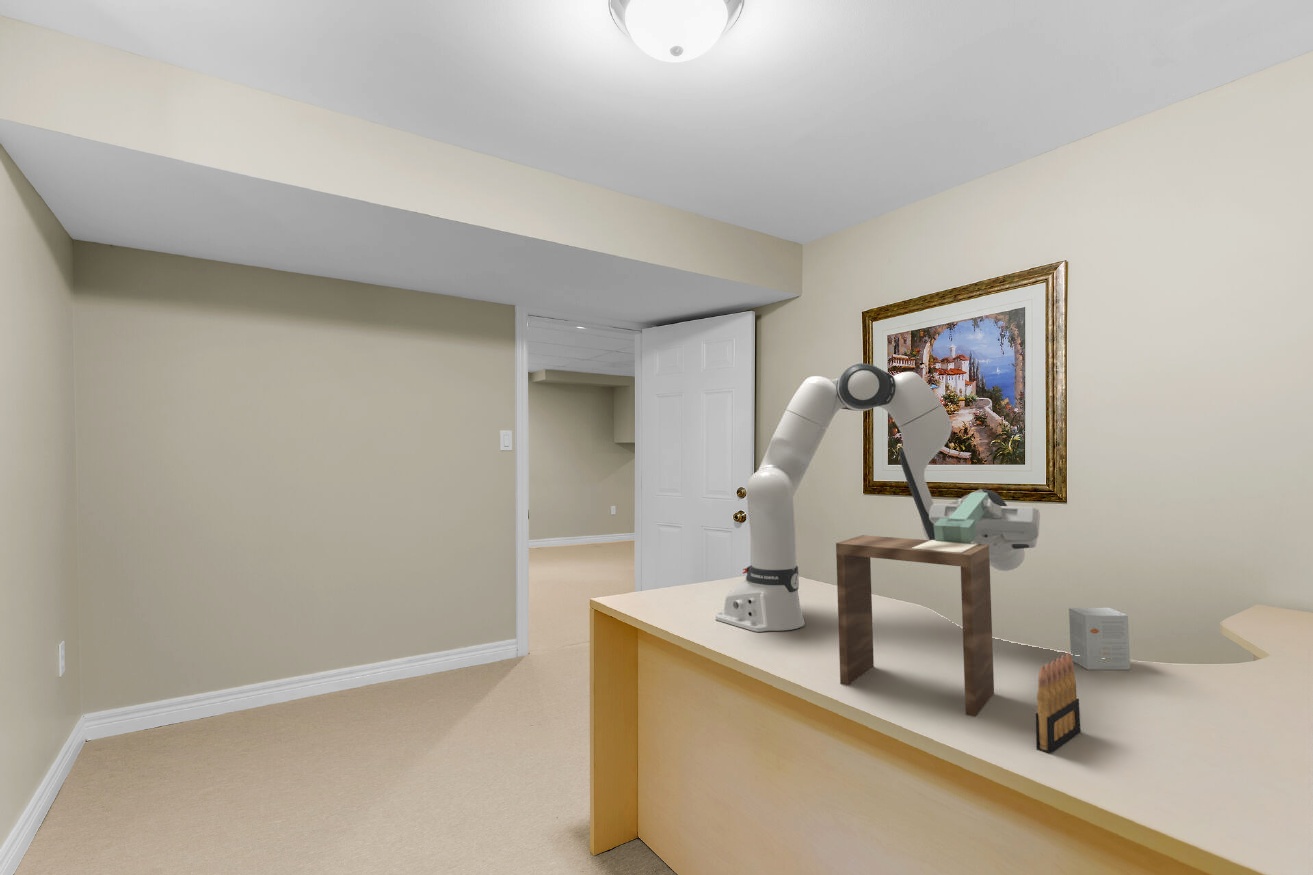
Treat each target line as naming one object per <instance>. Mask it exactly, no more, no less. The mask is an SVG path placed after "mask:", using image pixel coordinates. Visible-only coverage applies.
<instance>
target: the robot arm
mask: <svg viewBox="0 0 1313 875" xmlns="http://www.w3.org/2000/svg"><path fill="white" fill-rule="evenodd" d="M936 394H937V393H935V392H934V390H933V389H932V388H931V387H930V385H929V384H928V383H927V381H926V380H924V378H923V377H921V375H919V374H918V373H916V372H914V371H903V372H899V373H896V374H895V375H892V374H890V373H888V372H887V371H885V370H883V369H881V368H879V367H877V366H876V365H873V364H870V363H856V364H853V365H851V366H849V367H847V369H846V370H844V371H843V373H842V374H841V375H840V376H839V377H838V378H835V379H828V378H827V377H824V376H820V375H813V376H809V377H808V378H806V379H805V380H804V381H803V382H802V383H801V384H800V386H799V387H798V389H797V390H796V392H795V393H794V395H793V396H792V398H791V399H790V401H789V403H788V405H787V407H786V410H785V411H784V413H783V415H782V417H781V419H780V421H779V423H778V425H777V427H776V430H775V431H774V433H773V435H772V437H771V440H770V443H769V445H768V447H767V448H766V452H765V454H764V457H763V459H762V461H761V463H760V465H759V468H758V470H757V471H756V472H754V473H753V474H752V475H751V476H750V478H749V479H748V482H747V483H746V484H747V485H746V501H747V502H746V504H747V505H746V506H747V514H748V524H749V531H750V550H751V551H750V553H751V555H750V557H751V560H750V561H751V564H750V565H749V566H747V567H746V568H743V569H742V571H743V572H742V574H746V576H745V580H744V581H742V582H741V583H739V584H738V585H737V586H736V587H735V588H733V589H732V590H730V592H728V593H727V594H726V597H725V602H724V609H722V610H720V611H718V612H717V613H716V614H715V620H716V621H719V622H722V623H726V624H729V625H732V626H736V627H740V628H742V629H746V630H749V631H752V632H756V633H758V632H761V633H762V632H768V631H770V632H772V631H775V632H776V631H790V630H796V629H799V628H802V627H804V626H805V624H806V622H805V620H804V616H803V613H802V612H803V611H802V607H801V601H800V596H799V587H800V586H799V585H800V582H799V580H800V577H799V566H798V565H797V550H796V549H797V544H796V543H797V542H796V540H797V538H796V528H795V526H796V524H795V514H794V513H795V512H794V510H795V509H794V496H795V494H796V493H797V490H798V488H799V486H800V484H801V482H802V480H803V478H804V476H805V474H806V472H807V469H808V468H809V466H810V464H811V462H812V460H813V458H814V456H815V454H816V452H817V450H818V448H819V446H820V444H821V442H822V441H823V438H824V436H825V434H826V432H827V429H828V428H829V426H830V424H831V422H832V420H833V418H834V416H835V415H836V413H838V412H839V411H840V410H841V409H842V410H847V411H855V412H865V411H868V410H871V409H873V408H877V407H879V408H882V409H883V410H885V411H886V412H888V414H889V415H890V416H891V418H892V419H893V422H894V423H895V425H896V426H897V427H898V430H899V432H900V435H901V438H902V448H901V449H900V451H899V452H898V453H899V454H898V457H899V462H900V465H901V468H902V472H903V474H904V477H905V480H906V482H907V485H908V488H909V489H910V490H909V491H910V493H911V495H912V499H913V501H914V504H915V506H916V509H917V511H918V514H919V517H920V520H921V525H922V531H923V533H924V536H925V538H926V540H935V534H934V526H933V525H934V524H935V523H936V522H937V521H938V520H939V519H940V518H949V517H950V516H951V515H952V514H953V513H954V512H955V511H956V509H957V508H958V507H959V506H960V505H961V504H962V503H963V501H964V500H965V499H966V498H967V497H968V496H969V495H970V493H968V494H966V495H963V496H962V497H961V498H959V499H957V500H954V501H952V502H950V503H934V500H933V498H932V494H931V492H930V489H929V486H928V484H927V482H926V479H925V478H926V477H925V470H926V468H927V467H928V464H929V463H930V462H931V461H932V459H934V457H935V456H937V455H938V453H939V452H940V451H941V450H942V449H943V448H944V446H945V445H946V444H947V442H948V440H949V439H950V437H951V435H952V430H953V423H952V420H951V418H950V416H949V414H948V412H947V410H946V408H945V406H944V404H943V403H942V402H941V400H940V399H939V397H938V396H937V395H936ZM974 492H977V493H988V500H983V501H982V502H983V504H982V508H983V510H984V511H986V512H985V513H984V514H983V515H982V517H981V518H980V519H979V521H978V522H977V523H976V525H975V526H976V537H975V538H974V539H973V541H972V542H971V543H979V544H984V545H989V559H990V567H993V569H996V570H998V571H1003V572H1006V571H1007V572H1008V571H1012V570H1015V569H1017V568H1018V567H1020V566H1021V565H1022V564H1023V562H1024V560H1025V549H1032V548H1033V549H1034V548H1036V546H1037V543H1038V542H1037V541H1038V537H1039V534H1040V524H1041V523H1040V521H1041V519H1040V518H1041V514H1040V510H1039V509H1038V508H1036V507H1032V506H1011V505H1010V506H1008V505H1007V504H1006V502H1005V500H1004V499H1003V498H1002V496H1001V495H999V494H998V493H997V492H995V491H992V490H989V489H986V488H980V489H977V490H974Z"/></svg>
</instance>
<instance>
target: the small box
mask: <svg viewBox="0 0 1313 875" xmlns="http://www.w3.org/2000/svg"><path fill="white" fill-rule="evenodd" d="M1068 618H1069V619H1068V621H1069V641H1070V642H1069V644H1070V646H1069V648H1070V655H1071V654H1073V655H1071V657H1072V661H1073V663H1076V664H1078V665H1079V666H1080V667H1082V668H1084V669H1086V670H1097V671H1098V670H1099V671H1102V670H1105V671H1107V670H1108V671H1109V670H1111V671H1113V670H1116V671H1117V670H1120V671H1121V670H1123V671H1126V670H1128V671H1129V670H1130V669H1131V659H1130V658H1131V656H1130V637H1129V634H1130V633H1129V632H1130V631H1129V615H1127V614H1126V613H1123V612H1121V611H1118V610H1116V609H1114V608H1112V607H1071V608H1070V607H1069V608H1068ZM1075 655H1080V656H1075ZM1102 658H1105V659H1102Z"/></svg>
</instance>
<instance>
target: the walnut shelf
mask: <svg viewBox="0 0 1313 875" xmlns="http://www.w3.org/2000/svg"><path fill="white" fill-rule="evenodd" d="M835 549H836V550H835V552H836V553H835V554H836V558H835V559H836V580H837V581H836V585H837V615H838V616H837V617H838V618H837V619H838V620H837V621H838V648H839V650H838V654H839V678H840V679H839V681H840V682H839V683H840V684H841V685H845V686H849V685H851V684H852V683H854V682H855V681H857V679H859V678H861V677H862V676H863V675H865V674H866V673H868V672H869V671H870V670H872V669H873V668H875V666H874V664H875V663H874V658H875V657H874V637H873V636H874V630H873V604H872V602H873V601H872V600H873V599H872V573H871V572H872V571H871V570H872V569H871V558H873V559H883V560H892V561H903V562H911V563H912V562H913V563H923V564H932V565H933V564H934V565H942V566H943V565H944V566H951V567H952V566H953V567H960V585H961V586H960V587H961V588H960V589H961V590H960V591H961V592H960V593H961V613H962V614H961V616H962V618H961V619H962V645H963V646H962V647H963V670H964V671H963V673H964V706H965V707H964V708H965V715H966V716H970V717H975V718H976V717H977V716H978V715H979V713H980V712H981V711H982V710H983V708H984V707H985V706H986V704H987V703H988V702H989V701H990V699H991V698H992V696H994V694H995V683H994V682H995V679H994V654H993V653H994V652H993V646H994V645H993V624H992V623H993V619H992V616H993V615H992V594H991V591H992V590H991V565H990V559H989V545H984V544H979V543H972V542H971V543H959V542H946V541H935V540H927V539H919V538H917V539H916V538H903V537H893V536H892V537H890V536H880V535H879V536H878V535H865V534H863V535H858V536H856V537H852V538H849V539H845V540H842V541H839V542H836V543H835Z"/></svg>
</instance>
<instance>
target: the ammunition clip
mask: <svg viewBox="0 0 1313 875" xmlns="http://www.w3.org/2000/svg"><path fill="white" fill-rule="evenodd" d="M1037 688H1038V691H1037V697H1036V698H1037V701H1036V702H1037V711H1036V713H1035V738H1036V739H1035V742H1036V743H1035V744H1036V746H1035V747H1036V750H1038V751H1042V752H1044V753H1048V754H1053V753H1054V752H1055V751H1057V750H1059V749H1060V748H1062V746H1064V745H1065V744H1067V743H1068V742H1070V741H1071V740H1073V739H1074V738H1075V737H1077V736H1078V735H1079V734H1080V733H1082V732H1081V714H1080V699H1079V698H1077V696H1078V695H1077V681H1076V677H1075V670H1074V661H1072V657H1071V652H1067V653H1066V655H1064V654H1063V655H1061V657H1057V658H1056V660H1055V659H1054V660H1053V659H1052V661H1051V662H1050V663H1049V662H1047V663H1046V665H1045V666H1044V665H1041V666H1040V669H1039V674H1038V686H1037Z"/></svg>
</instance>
